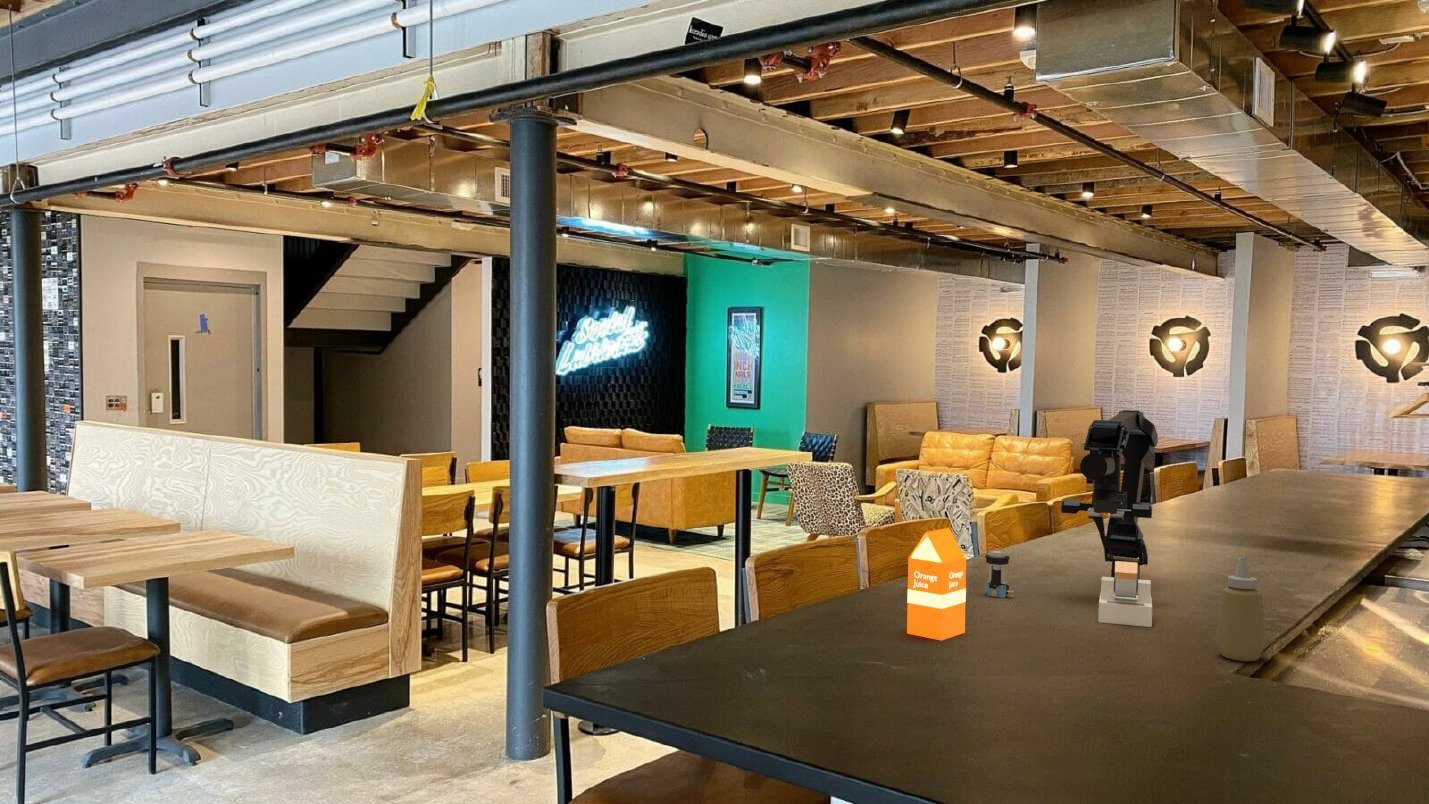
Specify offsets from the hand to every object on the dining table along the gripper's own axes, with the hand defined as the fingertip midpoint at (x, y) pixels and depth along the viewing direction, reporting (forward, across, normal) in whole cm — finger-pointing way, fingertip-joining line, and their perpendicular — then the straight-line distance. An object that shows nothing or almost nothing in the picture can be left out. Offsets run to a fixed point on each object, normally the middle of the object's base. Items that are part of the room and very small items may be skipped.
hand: (1105, 546), depth 234 cm
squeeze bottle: (+12, +24, -41) cm, 49 cm away
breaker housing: (+12, +4, -17) cm, 21 cm away
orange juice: (+12, -29, -45) cm, 55 cm away
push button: (+12, -22, -5) cm, 26 cm away
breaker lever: (+6, +4, -17) cm, 19 cm away
